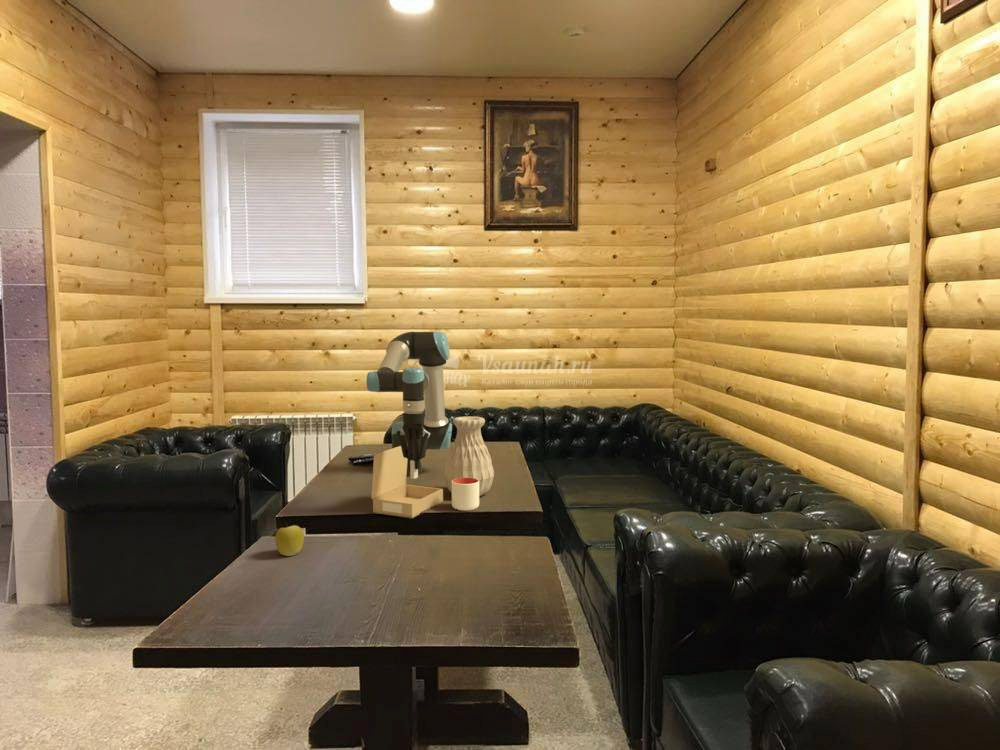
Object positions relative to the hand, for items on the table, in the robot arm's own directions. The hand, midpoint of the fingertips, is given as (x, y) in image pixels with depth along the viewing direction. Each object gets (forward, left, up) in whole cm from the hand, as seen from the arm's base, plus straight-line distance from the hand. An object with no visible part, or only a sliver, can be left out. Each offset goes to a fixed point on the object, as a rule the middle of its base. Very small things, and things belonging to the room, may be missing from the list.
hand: (414, 477), depth 236 cm
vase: (-29, +7, -13) cm, 32 cm away
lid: (-4, -12, +1) cm, 13 cm away
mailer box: (-4, -5, -12) cm, 14 cm away
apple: (+51, -12, -13) cm, 54 cm away
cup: (-12, +14, -13) cm, 22 cm away
